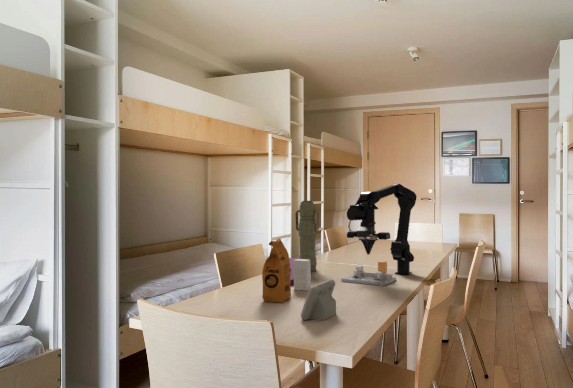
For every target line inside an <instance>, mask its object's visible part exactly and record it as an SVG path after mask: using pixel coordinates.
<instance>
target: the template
mask: <svg viewBox="0 0 573 388" xmlns="http://www.w3.org/2000/svg"><path fill="white" fill-rule="evenodd" d="M340 280H341V281H340V282H343V283H351V284H352V283H353V284H360V285H361V284H364V285H373V286H380V285H382V287H387V286H388V285H391V284H392V283H394V282H395V280H396V281H397V277H395V276H393V273H388V272H387V273H385V274H381V275H380V279H378V277H377V272H374V271H364V266H363V265H356V266H355V270H353V274H350V275H347V276H345V277H342V278H341V279H340ZM393 281H394V282H393Z"/></svg>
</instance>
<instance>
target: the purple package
mask: <svg viewBox="0 0 573 388" xmlns="http://www.w3.org/2000/svg"><path fill="white" fill-rule="evenodd" d="M296 259H304V258H299V257H289V260H290V270H291V276H290V285H294V263H293V261H294V260H296Z"/></svg>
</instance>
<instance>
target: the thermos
mask: <svg viewBox="0 0 573 388" xmlns="http://www.w3.org/2000/svg"><path fill="white" fill-rule="evenodd" d="M314 203H315V202H314V201H312V200H302V201H300V204H299V210H296V212H295V214H294V215H295V229H296V231H297V232H298V238H299V257H298V258H304V259H306V260H310V264H311V272H316V271H317V265H318V263H317V256H316V236H317V232H318V231H319V230H320V221H319V220H320V216H319V215H320V213H319V211H318V210H317V209H315V208H316V206H315V204H314ZM315 214H316V215H315ZM315 216H316V219H315ZM299 217H300V218H299ZM315 220H316V221H315Z"/></svg>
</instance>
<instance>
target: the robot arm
mask: <svg viewBox="0 0 573 388" xmlns="http://www.w3.org/2000/svg"><path fill="white" fill-rule="evenodd" d="M392 195H393V196H394V198H396V199H397V205H398V206H399V209H400V210H399V216H398V217H399V218H398V225H397V231H396V232H397V233H396V238H395V240H394V241H391V243H390V245H391V246H390V254H391V256H392V258H393V261H396V262H397V263H396V265H397V269H396V270H397V271H395V272H394V274H395V275H405V276H408V275H411V274H413V272H412V271H410V270H411V269H410V268H411V267H410V266H411V265H410V263H412V262H414V261H415V256H414V255H413V253H412V252H411V245H410V243H409V241H408V235H409V227H410V221H411V212H412V209H413V208H414V207H415V205H416V201H417V193H415V192H414V191H413V190H412V189H410V188H407V187H405V186H404V185H402V184H401V183H392V184H390V185H388V186H385V187H382V188H379V189H376V190H371V191H370V190H369V191H361V193H360V194H359V197H358V199H357V200H356V202H355V203H354V204H350V205H349V208H348V209H347V211H346V217H347V220H349V221H360V224H359V227H358V228H357V229H356V230H350V231H347V232H346V238H347V239H353V238H358V241H361V243H362V244H363V247H364V250H365V253H366V255H369V256H370V254H371V251H372V249H373V248H374V247H373V246H374V244H375V243H376V241H378V240H380V241H381V240H383V241H385V240H390V239H391V233H390V232H386V231H385V232H384V231H381V232H378V233H377V232H376V230H375V229H376V228H375V226H376V223H377V222H376V221H375V217H376V216H375V215H376V214H375V212H376V211H375V210H378V209H379V207H378V206H376V204H377V203H378V202H380V200H381V199H383V198H387V197H389V196H392Z"/></svg>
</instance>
